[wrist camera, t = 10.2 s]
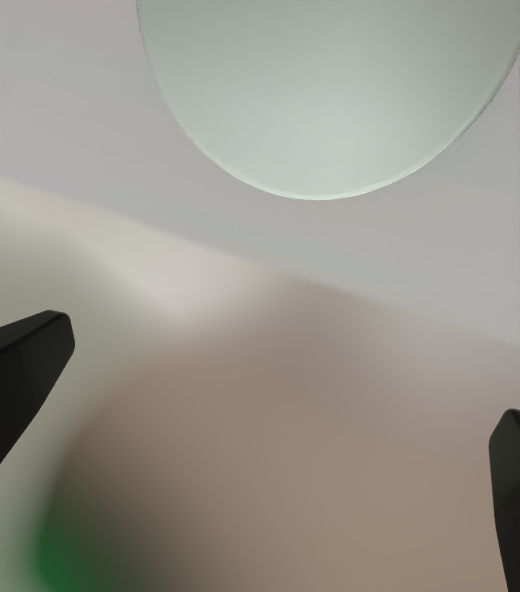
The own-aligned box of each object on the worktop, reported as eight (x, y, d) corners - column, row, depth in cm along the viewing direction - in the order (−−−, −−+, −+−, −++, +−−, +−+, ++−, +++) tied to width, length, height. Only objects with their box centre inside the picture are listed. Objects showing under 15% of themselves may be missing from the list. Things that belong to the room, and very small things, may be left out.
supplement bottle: (233, 12, 16) (-38, -21, 6) (384, -161, 13) (420, -1056, 2) (336, 152, 18) (279, 327, 7) (492, 32, 15) (790, 36, 4)
